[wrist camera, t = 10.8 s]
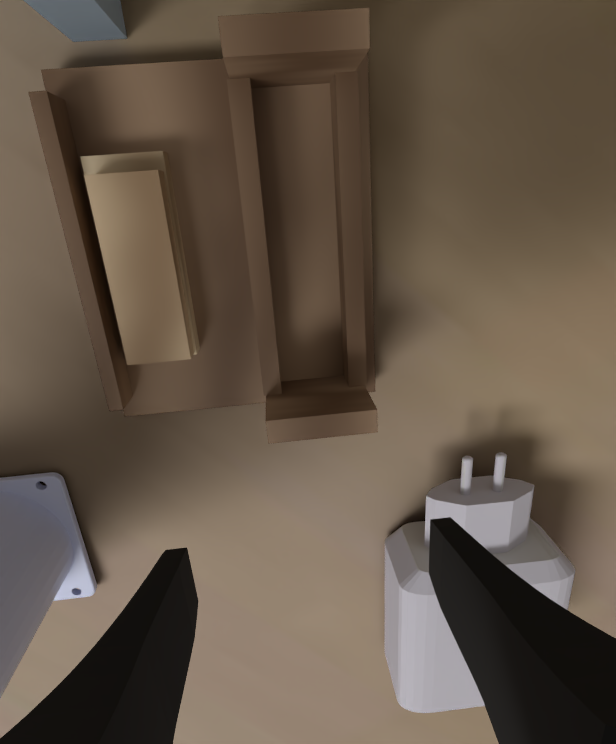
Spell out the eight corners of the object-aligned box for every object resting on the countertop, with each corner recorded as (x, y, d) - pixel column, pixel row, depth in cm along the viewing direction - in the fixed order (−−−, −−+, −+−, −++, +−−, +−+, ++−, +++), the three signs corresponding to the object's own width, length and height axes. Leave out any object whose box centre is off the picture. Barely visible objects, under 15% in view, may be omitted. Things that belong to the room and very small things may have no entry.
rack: (130, 407, 22) (94, 461, 18) (53, 77, 17) (-27, 29, 13) (370, 383, 23) (397, 430, 18) (362, 57, 18) (396, 6, 13)
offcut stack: (132, 354, 20) (120, 368, 19) (88, 158, 17) (70, 154, 16) (199, 348, 20) (193, 361, 19) (167, 153, 18) (156, 147, 16)
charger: (546, 424, 25) (517, 624, 30) (381, 439, 24) (381, 640, 30) (606, 471, 20) (560, 696, 26) (406, 491, 20) (401, 717, 25)
